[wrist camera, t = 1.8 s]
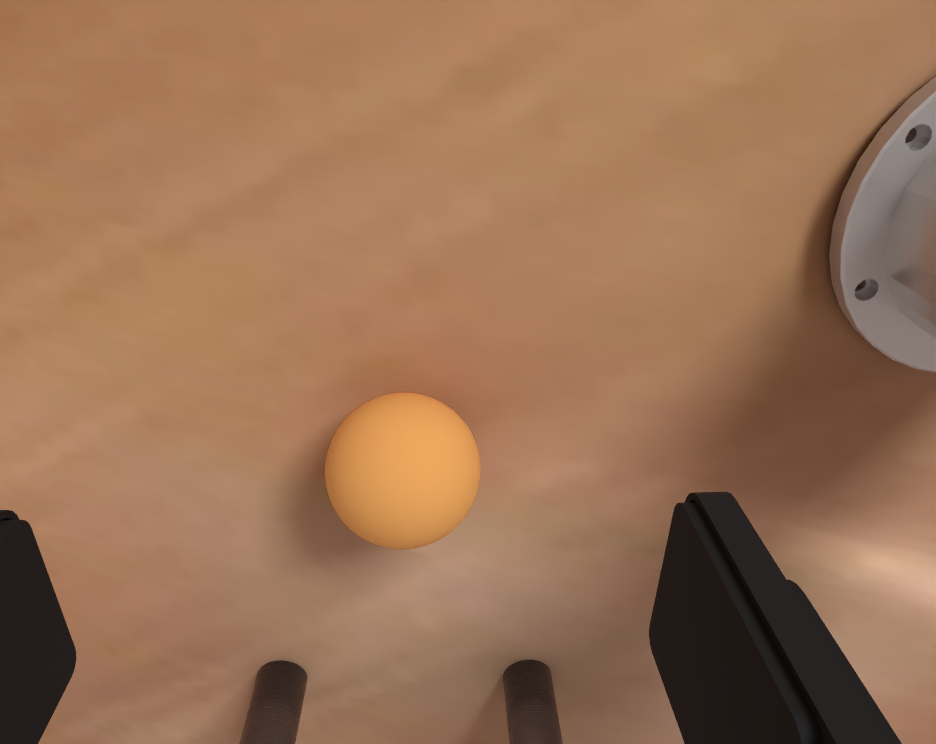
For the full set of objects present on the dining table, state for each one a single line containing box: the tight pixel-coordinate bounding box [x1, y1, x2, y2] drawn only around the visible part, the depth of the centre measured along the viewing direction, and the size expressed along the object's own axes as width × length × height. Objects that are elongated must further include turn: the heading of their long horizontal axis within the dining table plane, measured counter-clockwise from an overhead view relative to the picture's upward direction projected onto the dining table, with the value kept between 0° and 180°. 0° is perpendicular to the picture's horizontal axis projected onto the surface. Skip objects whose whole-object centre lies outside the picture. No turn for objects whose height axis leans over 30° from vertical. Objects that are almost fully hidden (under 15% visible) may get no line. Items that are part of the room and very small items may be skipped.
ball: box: [325, 392, 481, 549], centre depth 27 cm, size 6×6×6 cm
